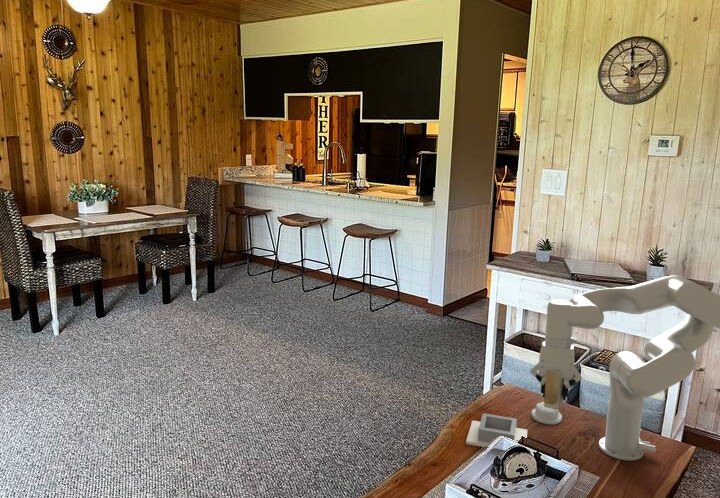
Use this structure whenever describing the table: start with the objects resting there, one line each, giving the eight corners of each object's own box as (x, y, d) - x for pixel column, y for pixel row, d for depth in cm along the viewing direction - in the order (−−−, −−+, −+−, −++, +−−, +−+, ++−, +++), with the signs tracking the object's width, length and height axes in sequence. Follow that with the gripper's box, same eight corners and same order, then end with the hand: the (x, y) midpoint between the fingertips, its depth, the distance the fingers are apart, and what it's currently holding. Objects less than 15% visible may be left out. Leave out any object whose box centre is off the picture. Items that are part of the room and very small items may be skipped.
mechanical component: (565, 426, 189) (557, 411, 198) (566, 414, 188) (558, 400, 197) (534, 424, 189) (528, 410, 199) (535, 412, 189) (529, 398, 198)
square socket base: (527, 432, 184) (528, 418, 183) (525, 454, 171) (526, 439, 170) (472, 423, 189) (472, 409, 188) (465, 443, 176) (466, 429, 175)
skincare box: (549, 399, 176) (551, 362, 174) (563, 403, 173) (566, 366, 171) (543, 407, 171) (545, 369, 168) (557, 411, 168) (560, 373, 166)
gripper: (588, 340, 169) (583, 395, 172) (529, 333, 174) (525, 387, 178) (589, 348, 162) (584, 406, 165) (528, 341, 167) (524, 398, 171)
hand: (554, 396), depth 172 cm, fingers closed on skincare box, 5 cm apart
